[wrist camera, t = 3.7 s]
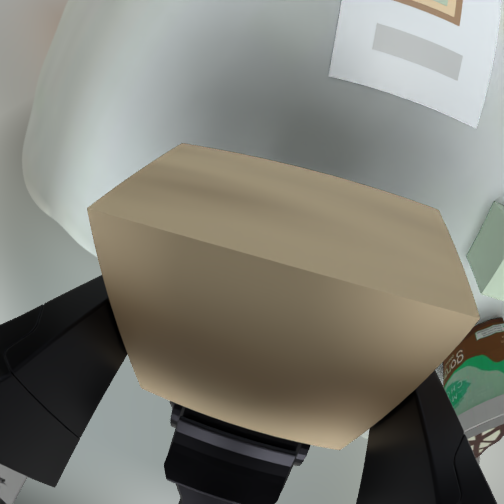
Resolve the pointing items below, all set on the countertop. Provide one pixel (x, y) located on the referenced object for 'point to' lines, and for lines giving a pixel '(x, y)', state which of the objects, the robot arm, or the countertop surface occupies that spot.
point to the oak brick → (278, 292)
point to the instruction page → (420, 51)
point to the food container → (478, 384)
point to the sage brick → (490, 254)
